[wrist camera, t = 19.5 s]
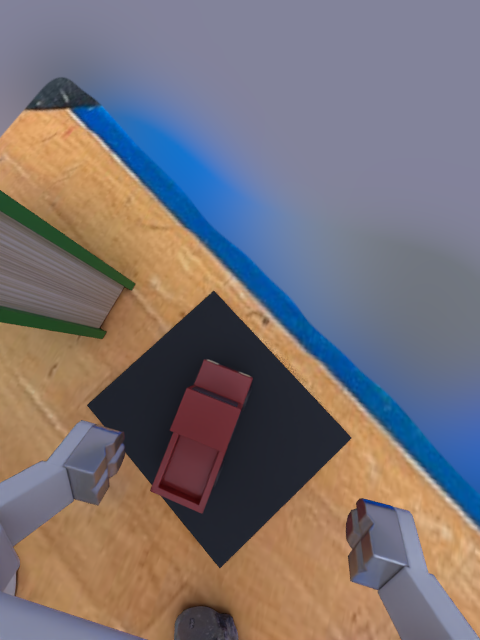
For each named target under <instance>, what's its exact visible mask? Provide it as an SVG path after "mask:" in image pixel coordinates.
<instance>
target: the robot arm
mask: <svg viewBox="0 0 480 640" xmlns="http://www.w3.org/2000/svg"><path fill="white" fill-rule="evenodd" d="M124 439H125V436H124V432H122V431H118V430H115V429H111V428H107V427H104V426H100V425H97V424H94V423H91V422H87V421H83V420H81V421H80V422H79V423H77V424H76V425H75V426H74V428H73V429H72V430H71V431H70V433H69V434H68V435H67V436H66V438H65V439H64V440H63V441H62V443H61V444H60V445H59V446H58V448H57V449H56V450H55V451H54V453H53V454H52V455H51V456H50V457H49V459H48V460H47V461H40V462H38V463H37V464H35V465H33V466H31V467H29V468H27V469H25V470H23V471H22V472H20V473H18V474H16V475H14V476H12V477H10V478H9V479H7V480H5V481H3V482H1V483H0V640H147V639H144V638H141V637H138V636H134V635H131V634H128V633H125V632H122V631H119V630H116V629H113V628H110V627H107V626H104V625H101V624H98V623H95V622H92V621H89V620H86V619H83V618H80V617H77V616H74V615H71V614H68V613H65V612H62V611H59V610H55V609H52V608H49V607H46V606H43V605H40V604H37V603H34V602H31V601H28V600H25V599H22V598H19V597H16V596H14V595H15V589H16V571H17V569H18V568H19V566H20V559H19V557H18V556H17V554H16V552H15V550H14V548H13V546H14V545H16V544H17V543H18V542H20V541H21V540H22V539H24V538H25V537H26V536H28V535H29V534H30V533H32V532H33V531H34V530H36V529H37V528H38V527H40V526H41V525H42V524H44V523H45V522H46V521H48V520H49V519H50V518H52V517H53V516H54V515H56V514H57V513H58V512H60V511H61V510H62V509H64V508H65V507H66V506H68V505H69V504H70V503H72V502H73V501H74V499H75V500H79V501H83V502H86V503H90V504H94V505H99V504H100V502H101V500H102V498H103V497H104V495H105V493H106V491H107V490H108V488H109V478H110V477H112V476H114V475H115V474H117V472H118V470H119V468H120V466H121V464H122V462H123V459H124V456H125V445H124V444H123V443H122V442H123V440H124ZM356 505H357V508H356V509H353V510H351V512H350V513H349V515H348V518H347V522H346V539H347V542H348V543H349V545H350V547H351V548H352V551H351V552H350V554H349V555H348V561H349V571H350V581H352V582H355V583H358V584H361V585H364V586H367V587H370V588H373V589H376V590H379V591H378V594H379V596H380V598H381V600H382V602H383V604H384V606H385V608H386V610H387V612H388V614H389V616H390V618H391V620H392V622H393V624H394V625H395V627H396V629H397V631H398V633H399V635H400V637H401V639H402V640H480V639H479V637H478V636H477V635H476V633H475V632H474V630H473V629H472V628H471V626H470V625H469V624H468V622H467V621H466V619H465V618H464V617H463V615H462V614H461V612H460V611H459V610H458V608H457V607H456V606H455V604H454V603H453V601H452V600H451V599H450V597H449V596H448V594H447V593H446V592H445V590H444V589H443V588H442V586H441V585H440V583H439V582H438V581H437V579H436V578H435V576H434V575H432V574H429V573H428V570H427V566H426V563H425V559H424V556H423V552H422V548H421V545H420V541H419V537H418V534H417V530H416V526H415V523H414V519H413V516H412V514H411V513H410V512H409V511H407V510H404V509H400V508H396V507H392V506H390V505H386V504H382V503H379V502H375V501H371V500H367V499H363V498H361V499H359V500H358V501H357V503H356Z"/></svg>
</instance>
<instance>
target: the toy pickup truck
mask: <svg viewBox="0 0 480 640" xmlns="http://www.w3.org/2000/svg"><path fill="white" fill-rule="evenodd" d="M252 380H253V377H251V376H249V375H247V374H244V373H242V372H238V371H236V370H233V369H231V368H228V367H225V366H223V365H220V364H219V363H216V362H214V361H211V360H209V359H208V360H205V359H204V361H203V363H202V366H201V368H200V370H199V372H198V374H197V376H196V378H195V381H194V383H193V386H190V387H188V388H186V391H185V393H184V395H183V398H182V400H181V403H180V405H179V408H178V410H177V413H176V415H175V418H174V421H173V423H172V426H171V428H170V431H172V432H173V434H172V437H171V439H170V442H169V444H168V447H167V449H166V452H165V454H164V457H163V459H162V462H161V464H160V467H159V470H158V472H157V475H156V477H155V480H154V482H153V485H152V487H151V490H150V491H151V492H154V493H156V494H158V495H160V496H163V497H165V498H167V499H170V500H172V501H174V502H176V503H179V504H181V505H183V506H186V507H188V508H190V509H192V510H195V511H197V512H199V513H203V511H204V509H205V506H206V503H207V501H208V498H209V495H210V493H211V490H212V487H215V486H216V484H217V481H218V478H219V476H220V473H221V470H222V467H223V464H224V460H223V458H224V455H225V453H226V450H227V447H228V444H229V443H230V441H231V438H232V436H233V433H234V430H235V428H236V425H237V422H238V420H239V417H240V414H241V410H242V411H244V408H245V406H246V403H247V401H248V398H249V395H250V393H251V390H252V387H250V385H251V383H252Z"/></svg>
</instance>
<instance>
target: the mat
mask: <svg viewBox="0 0 480 640" xmlns="http://www.w3.org/2000/svg"><path fill="white" fill-rule="evenodd" d="M204 359H205V360H208V359H209V360H211V361H214V362H216V363H219V364H220V365H223V366H225V367H228V368H231V369H233V370H236V371H238V372H242V373H244V374H247V375H249V376H251V377H253V380H252V383H251V385H250V387H252V390H251V393H250V395H249V398H248V401H247V403H246V406H245V408H244V411H242V410H241V414H240V417H239V420H238V422H237V425H236V428H235V430H234V433H233V436H232V438H231V441H230V443H229V444H228V447H227V450H226V453H225V455H224V458H223V460H224V464H223V467H222V470H221V473H220V476H219V478H218V481H217V484H216V486H215V487H212V490H211V493H210V495H209V498H208V501H207V503H206V506H205V509H204V511H203V513H199V512H197V511H195V510H192V509H190V508H188V507H186V506H183V505H181V504H179V503H176V502H174V501H172V500H170V499H167V498H165V497H163V496H161V497H162V498H163V499H164V500H165V502H166V503H167V504H168V505H169V506H170V508H171V509H172V510H173V511H174V513H175V514H176V515H177V516H178V518H179V519H180V520H181V521H182V522H183V524H184V525H185V526H186V527H187V529H188V530H189V531H190V532H191V533H192V535H193V536H194V537H195V538H196V540H197V541H198V542H199V543H200V545H201V546H202V547H203V548H204V549H205V551H206V552H207V553H208V554H209V556H210V557H211V558H212V559H213V561H214V562H215V563H216V564H217V565H218V567H219V568H221V567H222V566H223V565H224V564H225V563H226V562H227V561H228V560H229V559H230V558H231V557H232V556H233V555H234V554H235V553H236V552H237V551H238V550H239V549H240V548H241V547H242V546H243V545H244V544H245V543H246V542H247V541H248V540H249V539H250V538H251V537H252V536H253V535H254V534H255V533H256V532H257V531H258V530H259V529H260V528H261V527H262V526H263V525H264V524H265V523H266V522H267V521H268V520H269V519H270V518H271V517H272V516H273V515H274V514H275V513H276V512H277V511H278V510H279V509H280V508H281V507H282V506H283V505H284V504H285V503H287V502H288V501H289V500H290V499H291V498H292V497H293V496H294V495H295V494H296V493H297V492H298V491H299V490H300V489H301V488H302V487H303V486H304V485H305V484H306V483H307V482H308V481H309V480H310V479H311V478H312V477H313V476H314V475H315V474H316V473H317V472H318V471H319V470H320V469H321V468H322V467H323V466H324V465H325V464H326V463H327V462H328V461H329V460H330V459H331V458H332V457H333V456H334V455H335V454H336V453H337V452H338V451H339V450H340V449H341V448H342V447H343V446H344V445H345V444H346V443H347V442H348V441H349V440H350V439H351V437H350V436H349V435H348V434H347V433H346V431H345V430H344V429H343V428H342V427H341V426H340V425H339V424H338V423H337V422H336V421H335V420H334V419H333V418H332V416H331V415H330V414H329V413H328V412H327V411H326V410H325V409H324V408H323V407H322V406H321V405H320V404H319V403H318V402H317V400H316V399H315V398H314V397H313V396H312V395H311V394H310V393H309V392H308V391H307V390H306V389H305V388H304V387H303V386H302V384H301V383H300V382H299V381H298V380H297V379H296V378H295V377H294V376H293V375H292V374H291V373H290V372H289V371H288V369H287V368H286V367H285V366H284V365H283V364H282V363H281V362H280V361H279V360H278V359H277V358H276V357H275V356H274V355H273V353H272V352H271V351H270V350H269V349H268V348H267V347H266V346H265V345H264V344H263V343H262V342H261V341H260V340H259V338H258V337H257V336H256V335H255V334H254V333H253V332H252V331H251V330H250V329H249V328H248V327H247V326H246V325H245V324H244V322H243V321H242V320H241V319H240V318H239V317H238V316H237V315H236V314H235V313H234V312H233V311H232V310H231V309H230V307H229V306H228V305H227V304H226V303H225V302H224V301H223V300H222V299H221V298H220V297H219V296H218V295H217V294H216V293H215V291H213V292H212V293H211V294H210V295H209V296H208V297H206V298H205V299H204V300H203V301H202V302H201V303H200V304H199V305H198V306H197V307H195V308H194V309H193V310H192V311H191V312H190V313H189V314H188V315H187V316H185V317H184V318H183V319H182V320H181V321H180V322H179V323H178V324H177V325H175V326H174V327H173V328H172V329H171V330H170V331H169V332H168V333H167V334H165V335H164V336H163V337H162V338H161V339H160V340H159V341H158V342H157V343H156V344H154V345H153V346H152V347H151V348H150V349H149V350H148V351H147V352H146V353H144V354H143V355H142V356H141V357H140V358H139V359H138V360H137V361H136V362H134V363H133V364H132V365H131V366H130V367H129V368H128V369H127V370H126V371H124V372H123V373H122V374H121V375H120V376H119V377H118V378H117V379H116V380H115V381H113V382H112V383H111V384H110V385H109V386H108V387H107V388H106V389H105V390H103V391H102V392H101V393H100V394H99V395H98V396H97V397H96V398H95V399H93V400H92V401H91V402H90V403H89V404H88V405H87V406H88V407H89V408H90V409H91V411H92V412H93V413H94V414H95V415H96V417H97V418H98V419H99V420H100V422H101V423H102V424H103V425H104V427H107V428H111V429H115V430H118V431H122V432H124V436H125V439H124V440H123V442H122V443H123V444H124V445H125V452H126V454H127V455H128V456H129V457H130V458H131V460H132V461H133V462H134V463H135V465H136V466H137V467H138V468H139V470H140V471H141V472H142V473H143V474H144V476H145V477H146V478H147V479H148V481H149V482H150V483H151V484H152V485H153V482H154V480H155V477H156V475H157V472H158V470H159V467H160V464H161V462H162V459H163V457H164V454H165V452H166V449H167V447H168V444H169V442H170V439H171V437H172V434H173V432H172V431H170V428H171V426H172V423H173V421H174V418H175V415H176V413H177V410H178V408H179V405H180V403H181V400H182V398H183V395H184V393H185V391H186V388H188V387H190V386H193V383H194V381H195V378H196V376H197V374H198V372H199V370H200V368H201V366H202V363H203V361H204Z"/></svg>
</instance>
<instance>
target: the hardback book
mask: <svg viewBox="0 0 480 640" xmlns="http://www.w3.org/2000/svg"><path fill="white" fill-rule="evenodd" d="M134 286H135V283H134V282H132V281H131V280H129V279H128V278H126V277H125V276H123V275H122V274H121V273H119V272H118V271H116V270H115V269H113V268H112V267H110V266H109V265H108V264H106V263H105V262H103V261H102V260H100V259H99V258H97V257H96V256H95V255H93V254H92V253H90V252H89V251H87V250H86V249H84V248H83V247H82V246H80V245H79V244H77V243H76V242H74V241H73V240H71V239H70V238H69V237H67V236H66V235H64V234H63V233H61V232H60V231H58V230H57V229H56V228H54V227H53V226H51V225H50V224H48V223H47V222H45V221H44V220H43V219H41V218H40V217H38V216H37V215H35V214H34V213H32V212H31V211H30V210H28V209H27V208H25V207H24V206H22V205H21V204H19V203H18V202H17V201H15V200H14V199H12V198H11V197H9V196H8V195H6V194H5V193H4V192H2V191H1V190H0V322H3V323H9V324H15V325H21V326H27V327H33V328H39V329H45V330H51V331H57V332H63V333H69V334H75V335H81V336H87V337H93V338H99V339H103V337H104V335H105V334H106V331H104V330H102V329H100V326H101V324H102V323H103V321H104V319H105V318H106V316H107V314H108V313H109V311H110V310H111V308H112V306H113V305H114V303H115V301H116V300H117V298H118V296H119V295H120V293H121V291H122V290H123V288H124V287H126V288H128V289H129V290H131V291H132V289H133V287H134Z"/></svg>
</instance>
